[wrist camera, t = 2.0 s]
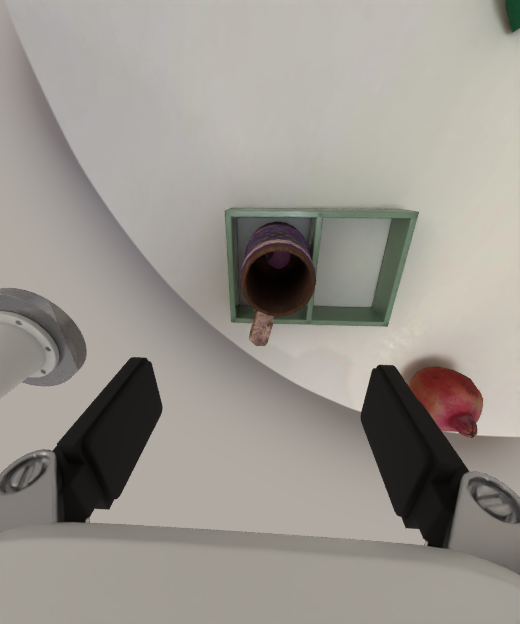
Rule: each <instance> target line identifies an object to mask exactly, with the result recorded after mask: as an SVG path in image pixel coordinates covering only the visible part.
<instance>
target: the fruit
mask: <svg viewBox="0 0 520 624" xmlns="http://www.w3.org/2000/svg"><path fill="white" fill-rule="evenodd" d="M409 388H410V389H411V391H412V392H413V394H414V395H415V396H416V398H417V399H418V400H419V401H420V402H421V403H422V404H423V405H424V407H425V408H426V410H427V411H428V412H429V414H430V415H431V417H432V418H433V420H434V421H435V423H436V424H437V425H438V427H439V428H440V430H442V431H455V432H457V431H458V432H459V433H460V434H462V435H464V436H467V437H471V438H473V437H474V436H475V435H476V434H477V425H476V422H477V421H478V419H479V417H480V415H481V412H482V407H483V398H482V395H481V393H480V391H479V390H478V389H477V387H476V386H475V385H474V383H473V382H472V380H471V379H470V378H468V377H466V376H465V375H463V374H461V373H459V372H456V371H454V370H451V369H447V368H442V367H431V368H424V369H423V370H421V371H420V372H418V373H417V374H416V375H415V376H414V378H413V379H412V380H411V382H410V384H409Z"/></svg>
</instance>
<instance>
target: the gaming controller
mask: <svg viewBox="0 0 520 624" xmlns="http://www.w3.org/2000/svg"><path fill="white" fill-rule="evenodd" d="M506 9H507V14H508V18H509V22H510V26H511V29H512V32H514V31H516V30H518V29H520V0H506Z"/></svg>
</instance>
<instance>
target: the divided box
mask: <svg viewBox="0 0 520 624" xmlns="http://www.w3.org/2000/svg"><path fill="white" fill-rule="evenodd" d="M418 213H419V212H416V211H410V210H403V209H325V208H230V209H228V210H225V222H226V239H227V257H228V274H229V292H230V310H231V322H237V323H252V320H253V314H254V308H253V307H252V306H251V305H240V297H239V271H238V244H237V217H304V218H311V221H310V232H309V243H308V248H309V254H310V258H311V260H312V262H313V264H314V267H315V272H316V273H317V264H318V255H319V246H320V237H321V228H322V219H323V218H393V219H392V223H391V227H390V232H389V236H388V240H387V245H386V249H385V253H384V258H383V262H382V266H381V271H380V275H379V279H378V284H377V288H376V292H375V297H374V301H373V305H372V308H362V307H319V306H313V300H314V293H313V295H312V297H311V299H310V300H309V302H308V303H307V304H306V305H305V306H304V307H303V308H302V309H300V310H299V311H297V312H295V313H293V314H291V315H288V316H281V317H275V316H274V318H273V323H274V324H312V325H349V326H388V324H389V320H390V316H391V312H392V309H393V305H394V301H395V298H396V294H397V290H398V287H399V283H400V279H401V276H402V272H403V268H404V265H405V261H406V257H407V254H408V250H409V246H410V243H411V239H412V235H413V232H414V228H415V224H416V221H417V217H418ZM314 291H315V289H314Z"/></svg>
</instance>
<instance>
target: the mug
mask: <svg viewBox="0 0 520 624" xmlns="http://www.w3.org/2000/svg"><path fill="white" fill-rule="evenodd" d="M240 282H241V286H242V290H243V295H244V296H245V298H246V300H247V301H248V303H249V304H250V305H251V306H252V307H253V308H254V314H253V320H252V325H251V331H250V336H249V340H250V341H251V342H252V343H254V344H255V345H256V346H265V345H266V344H267V342H268V339H269V336H270V333H271V329H272V326H273V318H274V316H275V317H281V316H288V315H291V314H293V313H295V312H297V311H299V310H300V309H302V308H303V307H304V306H305V305H306V304H307V303H308V302H309V300H310V299H311V297H312V295H313V293H314V289H315V285H316V272H315V267H314V264H313V262H312V260H311V258H310V254H309V248H308V246H307V243H306V241H305V239H304V237H303V236H302V235H301V234H300V233H299V231H298V230H297V229H296V228H295V227H293V226H291V225H289V224H287V223H282V222H273V223H268V224H266V225H264V226H262V227H260V228H259V229H258V230H257V231H256V232H255V233H254V234H253V236H252V237H251V238H250V241H249V243H248V245H247V247H246V252H245V261H244V264H243V266H242V270H241V280H240Z"/></svg>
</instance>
